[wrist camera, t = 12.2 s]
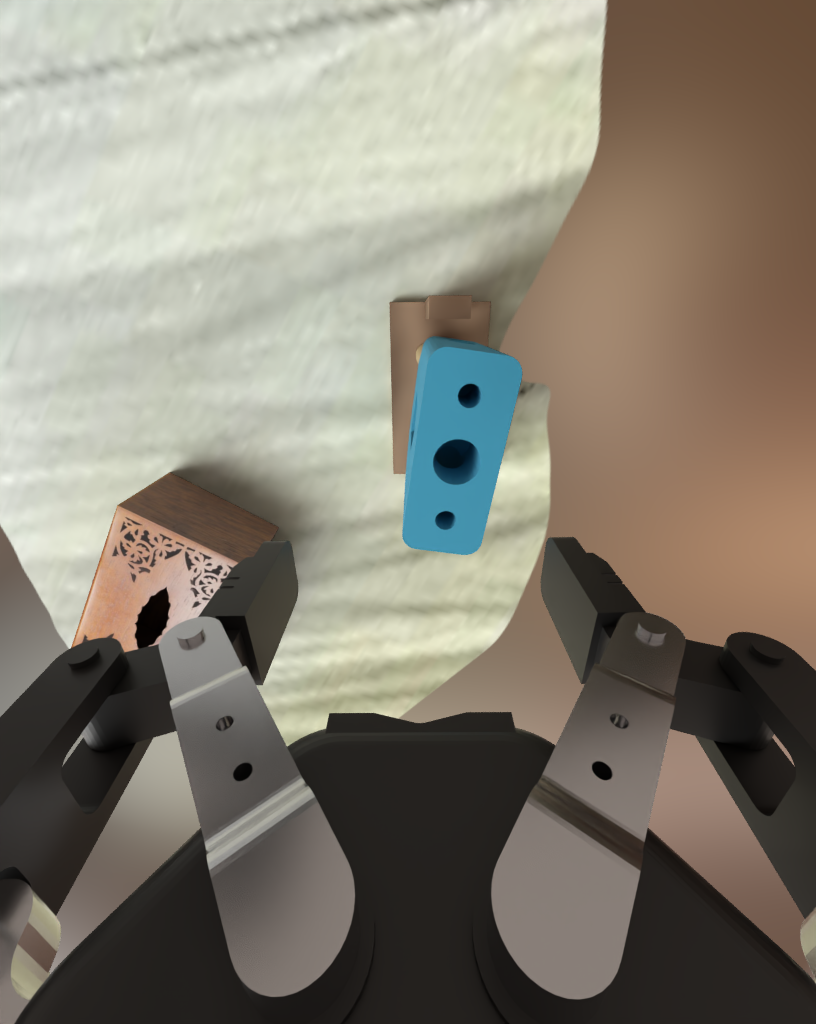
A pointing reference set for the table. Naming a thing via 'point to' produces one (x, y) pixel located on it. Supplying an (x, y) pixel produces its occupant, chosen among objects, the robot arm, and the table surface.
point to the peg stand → (407, 339)
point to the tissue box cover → (165, 561)
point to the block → (456, 442)
